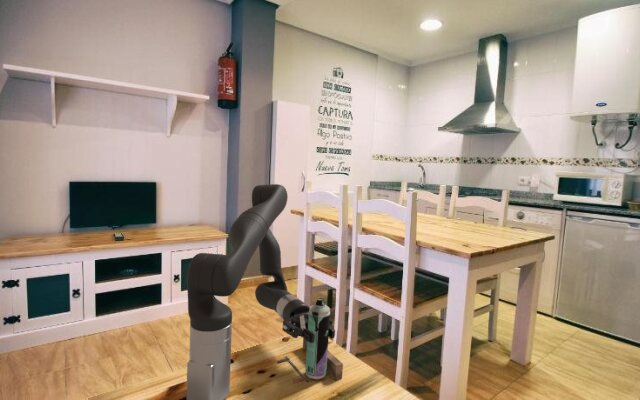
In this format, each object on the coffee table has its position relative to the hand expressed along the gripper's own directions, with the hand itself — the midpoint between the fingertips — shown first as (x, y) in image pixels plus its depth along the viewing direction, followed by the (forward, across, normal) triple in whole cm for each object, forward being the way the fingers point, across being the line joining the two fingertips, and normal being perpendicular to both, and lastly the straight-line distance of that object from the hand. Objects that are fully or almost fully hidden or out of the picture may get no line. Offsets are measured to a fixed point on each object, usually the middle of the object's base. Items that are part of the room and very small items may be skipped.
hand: (323, 337), depth 88 cm
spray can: (-3, 0, +11) cm, 11 cm away
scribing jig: (-7, 0, +12) cm, 14 cm away
